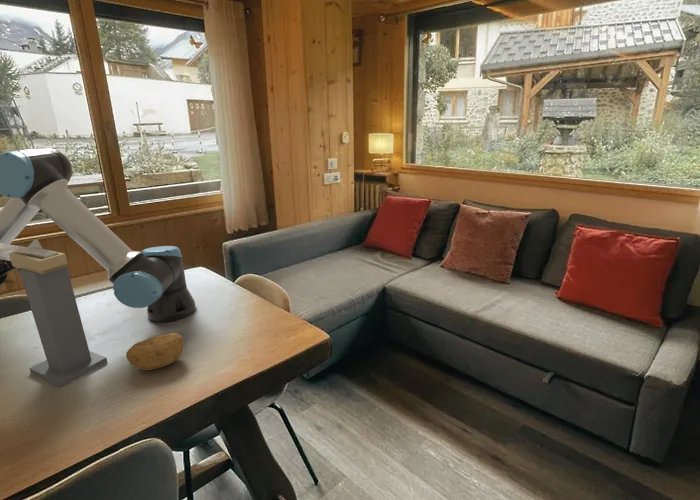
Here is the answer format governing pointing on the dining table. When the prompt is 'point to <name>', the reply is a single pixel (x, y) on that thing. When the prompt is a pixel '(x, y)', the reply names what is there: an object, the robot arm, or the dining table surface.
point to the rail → (24, 252)
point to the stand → (56, 319)
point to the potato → (156, 351)
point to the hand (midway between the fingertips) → (9, 251)
